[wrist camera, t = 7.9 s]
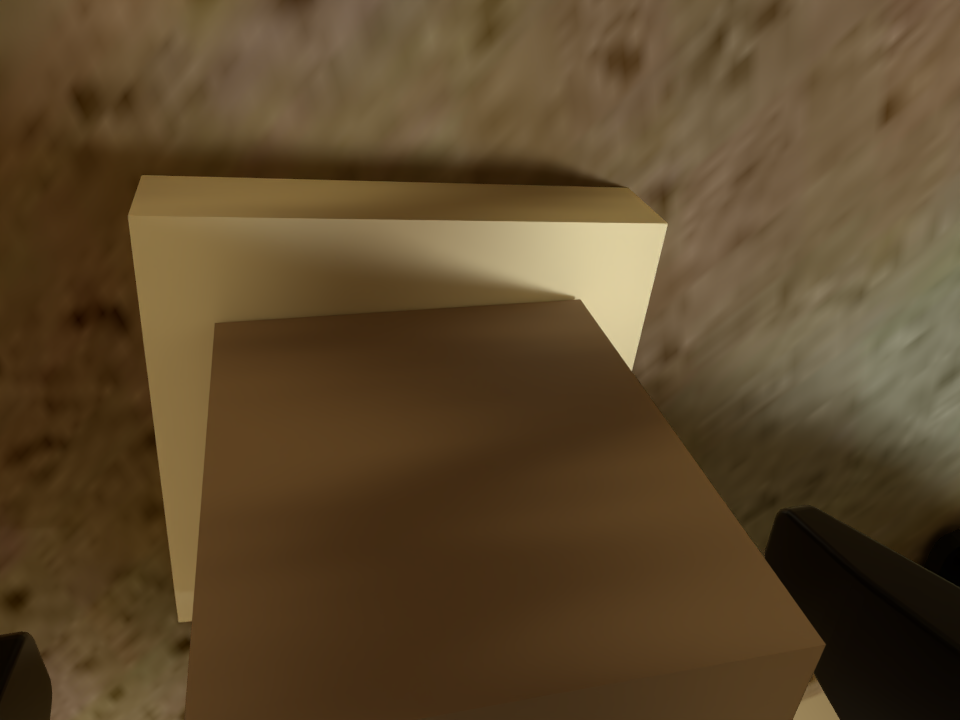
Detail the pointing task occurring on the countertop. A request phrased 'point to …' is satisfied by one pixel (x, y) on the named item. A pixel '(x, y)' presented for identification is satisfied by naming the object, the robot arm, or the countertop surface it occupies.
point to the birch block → (356, 279)
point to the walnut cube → (469, 533)
